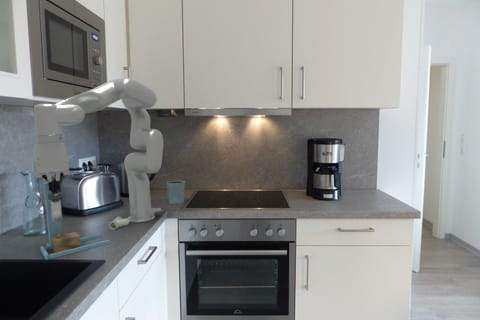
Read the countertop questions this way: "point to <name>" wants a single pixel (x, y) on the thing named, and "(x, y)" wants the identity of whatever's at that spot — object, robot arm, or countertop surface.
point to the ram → (56, 206)
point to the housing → (65, 241)
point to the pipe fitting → (118, 223)
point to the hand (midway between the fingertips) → (54, 192)
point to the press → (57, 229)
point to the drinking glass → (176, 191)
